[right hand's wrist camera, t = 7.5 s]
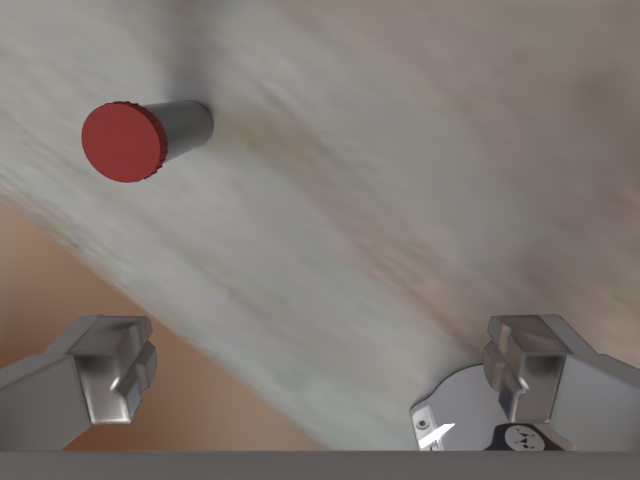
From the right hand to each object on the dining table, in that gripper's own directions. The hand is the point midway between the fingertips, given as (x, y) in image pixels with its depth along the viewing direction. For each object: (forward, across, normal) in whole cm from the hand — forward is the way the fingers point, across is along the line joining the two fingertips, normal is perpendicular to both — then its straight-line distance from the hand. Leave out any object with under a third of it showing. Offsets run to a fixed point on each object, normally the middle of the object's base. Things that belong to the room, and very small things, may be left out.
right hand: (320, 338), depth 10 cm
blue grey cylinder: (+37, -13, +1) cm, 39 cm away
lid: (+21, -13, +1) cm, 25 cm away
